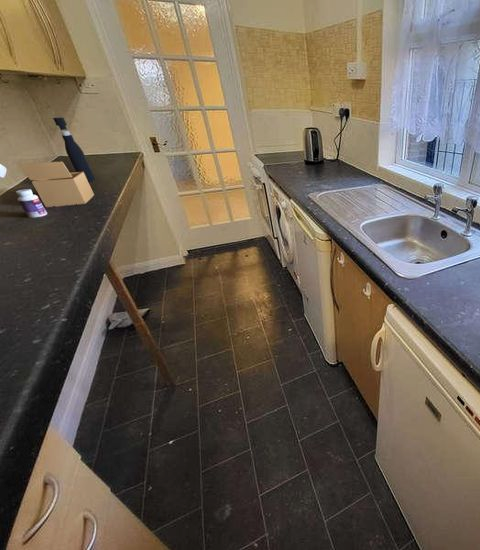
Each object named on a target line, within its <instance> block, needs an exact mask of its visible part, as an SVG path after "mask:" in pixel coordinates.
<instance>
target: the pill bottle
mask: <svg viewBox="0 0 480 550" xmlns="http://www.w3.org/2000/svg"><path fill="white" fill-rule="evenodd" d="M15 193H16V195H17V196H19V197H17V201H18V203H19V204H20V206H21V208H22V209H23V211H24V212H25V214H26V215H27V217H28V218H30V219H31V218H33V219H34V218H41V217H44V216H47V215H48V212H47V210H46V207H44V204H43V202H42V200H40V197H39V195H36V194H33V193H34V192H33V191H32V189H31V188H24V189H18V190H16V191H15Z"/></svg>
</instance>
